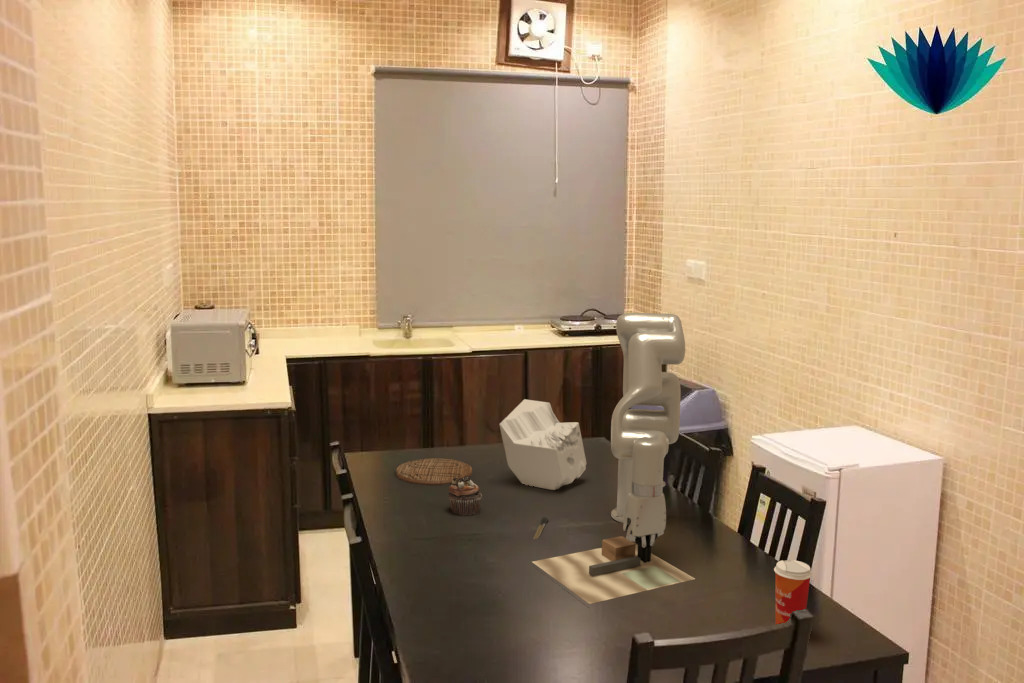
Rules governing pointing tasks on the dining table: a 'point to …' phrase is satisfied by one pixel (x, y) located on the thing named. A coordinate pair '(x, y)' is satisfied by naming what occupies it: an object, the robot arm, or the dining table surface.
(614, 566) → the dark gray bar
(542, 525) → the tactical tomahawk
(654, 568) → the board
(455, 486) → the cupcake
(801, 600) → the paper cup
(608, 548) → the walnut block
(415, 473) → the trivet
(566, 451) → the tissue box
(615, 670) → the dining table surface
